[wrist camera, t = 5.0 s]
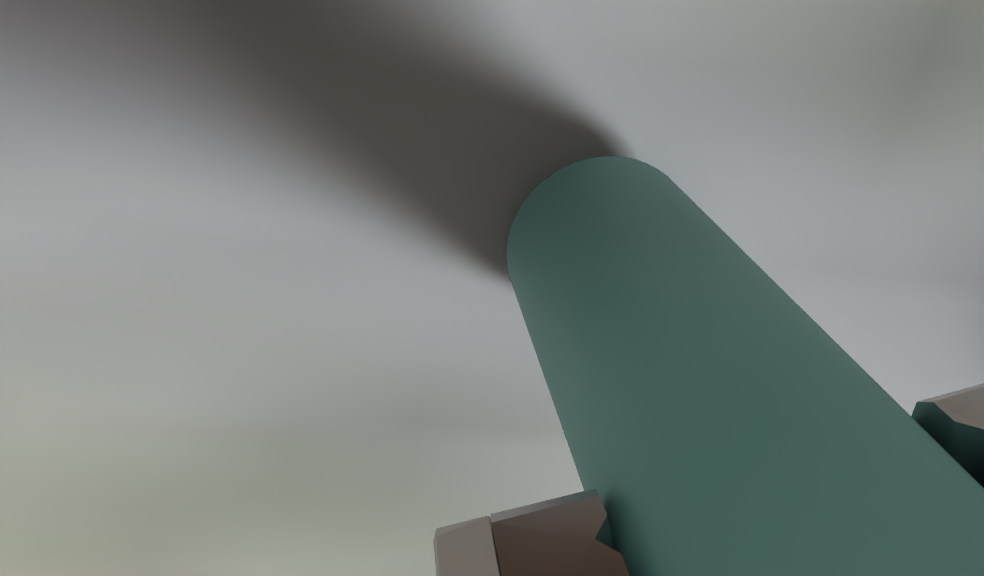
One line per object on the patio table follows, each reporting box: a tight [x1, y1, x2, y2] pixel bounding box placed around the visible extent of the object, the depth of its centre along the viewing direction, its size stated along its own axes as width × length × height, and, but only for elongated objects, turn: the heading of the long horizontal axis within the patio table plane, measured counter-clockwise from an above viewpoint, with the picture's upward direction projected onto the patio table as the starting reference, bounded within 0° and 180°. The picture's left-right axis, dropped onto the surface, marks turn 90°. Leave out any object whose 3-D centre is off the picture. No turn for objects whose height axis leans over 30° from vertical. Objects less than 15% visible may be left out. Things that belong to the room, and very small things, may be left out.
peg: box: [507, 156, 984, 576], centre depth 8 cm, size 3×3×12 cm
